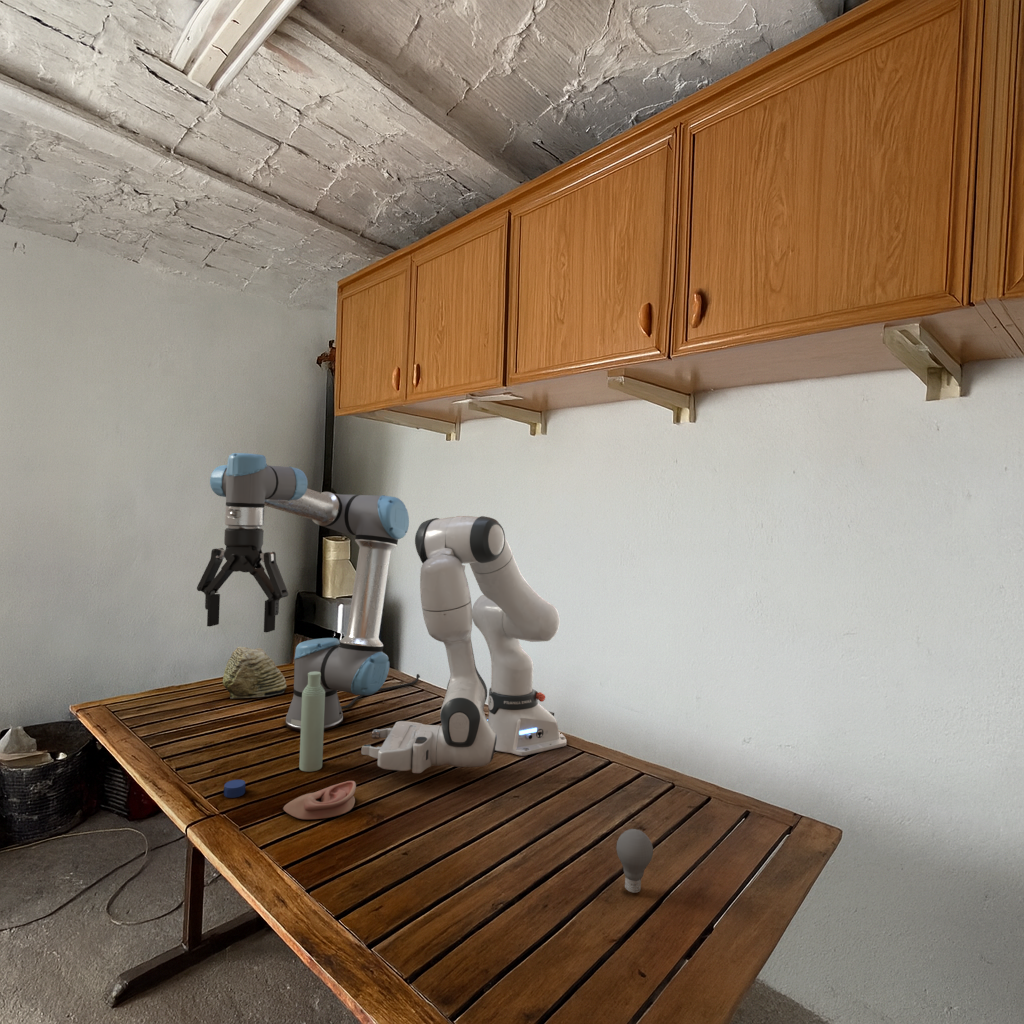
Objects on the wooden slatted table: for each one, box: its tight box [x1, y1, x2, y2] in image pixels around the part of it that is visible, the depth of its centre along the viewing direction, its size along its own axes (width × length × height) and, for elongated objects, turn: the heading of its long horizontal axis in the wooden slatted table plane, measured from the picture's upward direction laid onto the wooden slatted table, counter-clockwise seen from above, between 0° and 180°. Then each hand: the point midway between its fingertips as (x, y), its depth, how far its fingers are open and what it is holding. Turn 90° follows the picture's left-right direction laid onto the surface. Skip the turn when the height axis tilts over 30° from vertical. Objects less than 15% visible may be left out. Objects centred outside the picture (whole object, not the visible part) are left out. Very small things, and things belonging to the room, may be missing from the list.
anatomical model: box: [282, 780, 357, 820], centre depth 129 cm, size 13×4×12 cm
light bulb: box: [615, 828, 654, 894], centre depth 106 cm, size 6×6×10 cm
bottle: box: [298, 671, 325, 773], centre depth 148 cm, size 5×5×22 cm
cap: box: [223, 779, 246, 799], centre depth 134 cm, size 4×4×2 cm
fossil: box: [222, 646, 288, 699], centre depth 198 cm, size 9×18×15 cm, turn 132°
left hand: (240, 628), depth 133 cm, fingers open, 13 cm apart
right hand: (367, 741), depth 148 cm, fingers open, 8 cm apart
